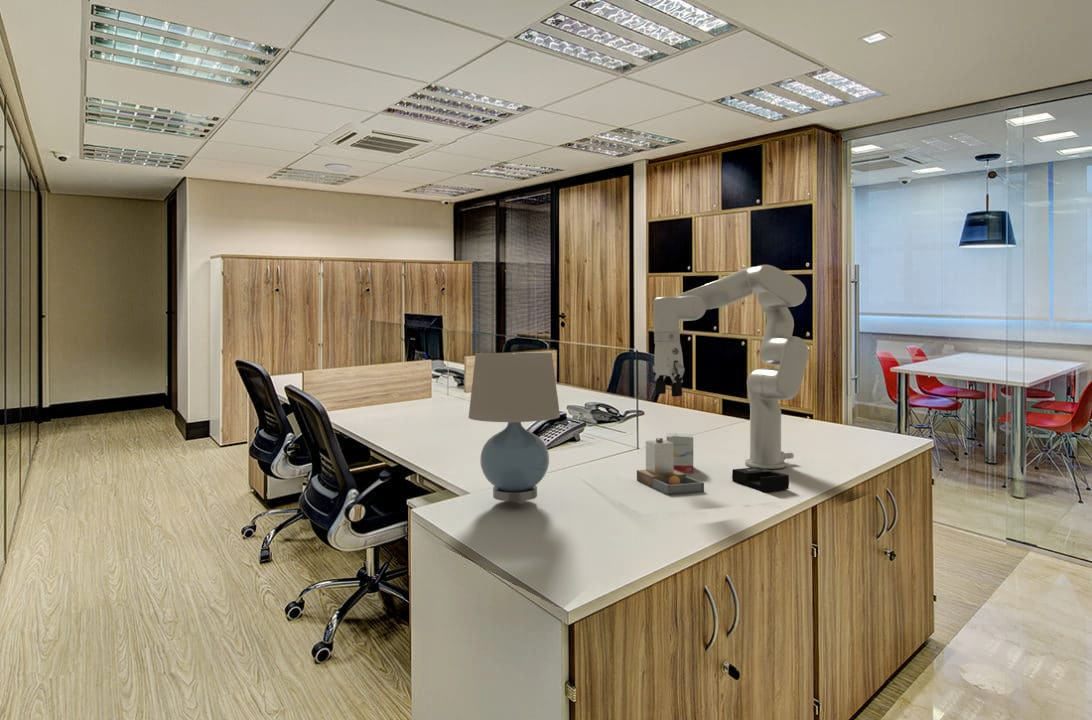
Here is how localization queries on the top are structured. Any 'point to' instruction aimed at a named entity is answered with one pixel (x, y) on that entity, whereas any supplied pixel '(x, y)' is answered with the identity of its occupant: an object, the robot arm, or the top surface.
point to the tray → (677, 485)
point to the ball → (674, 480)
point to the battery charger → (760, 479)
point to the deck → (654, 476)
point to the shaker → (659, 456)
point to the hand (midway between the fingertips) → (668, 395)
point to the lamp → (514, 419)
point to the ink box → (682, 451)
